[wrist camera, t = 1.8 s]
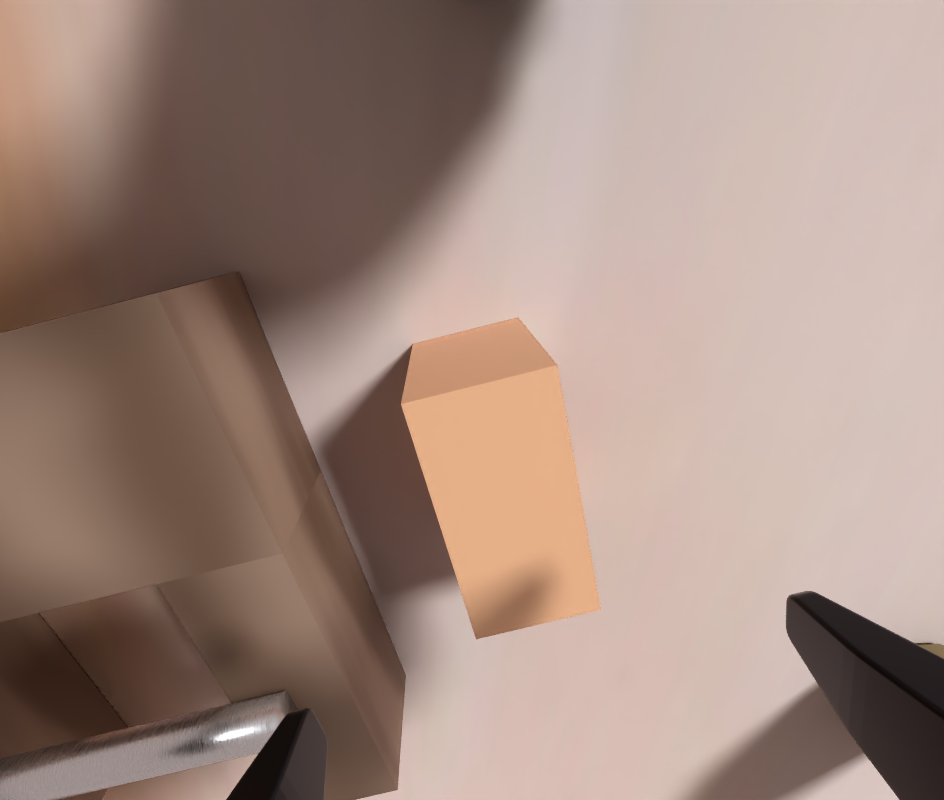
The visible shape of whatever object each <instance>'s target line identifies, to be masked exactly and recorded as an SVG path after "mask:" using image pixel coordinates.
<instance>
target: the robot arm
mask: <svg viewBox="0 0 944 800" xmlns="http://www.w3.org/2000/svg"><path fill="white" fill-rule="evenodd" d="M786 630H787V633H788V636H789V638H790V640H791V642H792V644H793V645H794V647H795V648H796V650H797V651H798V653H799V655H800V656H801V658H802V659H803V661H804V663H805V664H806V666H807V667H808V669H809V671H810V672H811V674H812V675H813V677H814V678H815V680H816V682H817V683H818V685H819V686H820V688H821V690H822V691H823V693H824V694H825V696H826V698H827V699H828V701H829V702H830V704H831V705H832V707H833V709H834V710H835V712H836V713H837V715H838V717H839V718H840V720H841V721H842V723H843V724H844V726H845V727H846V729H847V730H848V732H849V733H850V734H851V736H852V737H853V738H854V740H855V741H856V743H857V744H858V745H859V747H860V748H861V749H862V751H863V752H864V753H865V755H866V756H867V757H868V759H869V760H870V761H871V763H872V764H873V765H874V767H875V768H876V769H877V770H878V772H879V773H880V774H881V776H882V777H883V778H884V780H885V781H886V782H887V784H888V785H889V786H890V788H891V789H892V790H893V792H894V793H895V794H896V796H897V797H898V798H899V800H944V658H942V657H940V656H938V655H936V654H934V653H932V652H930V651H929V650H927V649H925V648H923V647H921V646H919V645H917V644H915V643H913V642H911V641H909V640H907V639H905V638H903V637H901V636H899V635H897V634H895V633H894V632H892V631H890V630H888V629H886V628H884V627H882V626H880V625H878V624H876V623H874V622H872V621H870V620H868V619H866V618H864V617H862V616H861V615H859V614H857V613H855V612H853V611H851V610H849V609H847V608H845V607H843V606H841V605H839V604H837V603H835V602H833V601H831V600H829V599H827V598H826V597H824V596H822V595H820V594H818V593H815V592H812V591H805V592H801V593H796V594H792V595H790V596H789V597H788V598H787V604H786ZM327 749H328V745H327V737H326V734H325V732H324V730H323V728H322V726H321V725H320V723H319V721H318V719H317V717H316V715H315V714H314V712H313V710H312V709H310V708H304V709H299V710H295V711H291V712H289V713H288V714H287V715H286V716H285V717H284V718H283V719H282V721H281V722H280V724H279V725H278V727H277V728H276V729H275V731H274V732H273V734H272V735H271V737H270V738H269V739H268V741H267V742H266V744H265V745H264V747H263V748H262V749H261V751H260V752H259V754H258V755H257V757H256V758H255V759H254V761H253V762H252V764H251V765H250V767H249V768H248V769H247V771H246V772H245V774H244V775H243V776H242V778H241V779H240V781H239V782H238V784H237V785H236V786H235V788H234V789H233V791H232V792H231V794H230V795H229V796H228V798H227V799H226V800H324V791H325V777H326V763H327Z"/></svg>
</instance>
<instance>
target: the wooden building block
mask: <svg viewBox="0 0 944 800" xmlns="http://www.w3.org/2000/svg"><path fill="white" fill-rule="evenodd" d="M401 406H402V409H403V412H404V415H405V418H406V422H407V425H408V428H409V431H410V434H411V437H412V440H413V443H414V447H415V450H416V453H417V456H418V459H419V462H420V465H421V468H422V472H423V475H424V478H425V481H426V484H427V487H428V490H429V493H430V496H431V500H432V503H433V506H434V509H435V512H436V515H437V518H438V521H439V525H440V528H441V531H442V534H443V537H444V540H445V543H446V546H447V550H448V553H449V556H450V559H451V562H452V565H453V568H454V571H455V575H456V578H457V581H458V584H459V587H460V590H461V593H462V596H463V599H464V603H465V606H466V609H467V612H468V615H469V618H470V621H471V624H472V628H473V631H474V634H475V637H476V639H479V638H483V637H488V636H492V635H496V634H500V633H505V632H509V631H513V630H517V629H521V628H526V627H530V626H534V625H538V624H543V623H547V622H551V621H555V620H560V619H564V618H568V617H572V616H576V615H581V614H585V613H589V612H593V611H598V610H601V607H600V602H599V596H598V591H597V585H596V579H595V574H594V568H593V562H592V557H591V551H590V546H589V540H588V534H587V529H586V523H585V518H584V512H583V506H582V501H581V495H580V489H579V484H578V478H577V473H576V467H575V461H574V456H573V450H572V445H571V439H570V433H569V428H568V422H567V416H566V411H565V405H564V400H563V394H562V388H561V383H560V377H559V372H558V366H557V364H556V363H555V362H554V360H553V359H552V358H551V357H550V356H549V354H548V353H547V352H546V351H545V349H544V348H543V347H542V346H541V345H540V343H539V342H538V341H537V340H536V338H535V337H534V336H533V335H532V334H531V332H530V331H529V330H528V329H527V327H526V326H525V325H524V324H523V322H522V321H521V320H520V319H519V318H514V319H511V320H507V321H503V322H499V323H495V324H491V325H487V326H483V327H479V328H475V329H471V330H467V331H463V332H459V333H455V334H451V335H447V336H443V337H439V338H435V339H431V340H427V341H423V342H419V343H415V344H413V346H412V351H411V356H410V361H409V366H408V371H407V376H406V381H405V386H404V391H403V396H402V401H401Z"/></svg>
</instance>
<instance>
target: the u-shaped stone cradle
mask: <svg viewBox="0 0 944 800" xmlns="http://www.w3.org/2000/svg"><path fill="white" fill-rule="evenodd" d="M155 584H157V586H158V588H159V589H160V591H161V592H162V594H163V595H164V597H165V599H166V600H167V602H168V603H169V605H170V607H171V608H172V610H173V611H174V613H175V614H176V616H177V618H178V619H179V621H180V622H181V624H182V625H183V627H184V629H185V630H186V632H187V633H188V635H189V637H190V638H191V640H192V641H193V643H194V644H195V646H196V648H197V649H198V651H199V652H200V654H201V656H202V657H203V659H204V660H205V662H206V663H207V665H208V667H209V668H210V670H211V671H212V673H213V674H214V676H215V678H216V679H217V681H218V682H219V684H220V686H221V687H222V689H223V690H224V692H225V693H226V695H227V697H228V698H229V700H230V701H231V703H236V702H240V701H244V700H249V699H253V698H257V697H261V696H265V695H270V694H274V693H278V692H282V691H288V693H289V695H290V696H291V698H292V700H293V702H294V704H295V705H296V707H297V709H298V710H299V709H304V708H310V709H312V710H313V712H314V714H315V715H316V717H317V719H318V721H319V723H320V725H321V726H322V728H323V730H324V732H325V734H326V737H327V745H328V749H327V763H326V777H325V791H324V800H356V799H360V798H364V797H369V796H373V795H377V794H382V793H386V792H390V791H395V790H398V777H399V762H400V748H401V734H402V720H403V706H404V691H405V677H406V675H405V673H404V670H403V668H402V665H401V663H400V661H399V658H398V656H397V653H396V651H395V649H394V646H393V644H392V641H391V639H390V636H389V634H388V632H387V629H386V627H385V624H384V622H383V620H382V617H381V615H380V612H379V610H378V607H377V605H376V603H375V600H374V598H373V595H372V593H371V591H370V588H369V586H368V583H367V581H366V579H365V576H364V574H363V571H362V569H361V566H360V564H359V562H358V559H357V557H356V554H355V552H354V550H353V547H352V545H351V542H350V540H349V537H348V535H347V533H346V530H345V528H344V525H343V523H342V521H341V518H340V516H339V513H338V511H337V508H336V506H335V504H334V501H333V499H332V496H331V494H330V492H329V489H328V487H327V484H326V482H325V480H324V477H323V475H322V472H321V470H320V467H319V465H318V463H317V460H316V458H315V455H314V453H313V451H312V448H311V446H310V443H309V441H308V438H307V436H306V434H305V431H304V429H303V426H302V424H301V422H300V419H299V417H298V414H297V412H296V409H295V407H294V405H293V402H292V400H291V397H290V395H289V393H288V390H287V388H286V385H285V383H284V381H283V378H282V376H281V373H280V371H279V368H278V366H277V364H276V361H275V359H274V356H273V354H272V352H271V349H270V347H269V344H268V342H267V339H266V337H265V335H264V332H263V330H262V327H261V325H260V323H259V320H258V318H257V315H256V313H255V310H254V308H253V306H252V303H251V301H250V298H249V296H248V294H247V291H246V289H245V286H244V284H243V281H242V279H241V277H240V274H239V272H235V273H231V274H227V275H223V276H220V277H216V278H212V279H208V280H204V281H200V282H196V283H192V284H188V285H185V286H181V287H177V288H173V289H169V290H165V291H161V292H157V293H154V294H150V295H146V296H142V297H138V298H134V299H130V300H126V301H122V302H119V303H115V304H111V305H107V306H103V307H99V308H95V309H91V310H87V311H84V312H80V313H76V314H72V315H68V316H64V317H60V318H56V319H53V320H49V321H45V322H41V323H37V324H33V325H29V326H25V327H21V328H18V329H14V330H10V331H6V332H2V333H0V758H3V757H7V756H11V755H15V754H20V753H24V752H28V751H32V750H37V749H41V748H45V747H49V746H54V745H58V744H62V743H66V742H71V741H75V740H79V739H83V738H88V737H92V736H96V735H100V734H104V733H109V732H113V731H117V730H121V729H126V728H128V727H127V726H126V725H125V724H124V722H123V721H122V720H121V718H120V717H119V716H118V715H117V713H116V712H115V711H114V709H113V708H112V707H111V706H110V704H109V703H108V702H107V700H106V699H105V698H104V697H103V695H102V694H101V693H100V691H99V690H98V689H97V688H96V686H95V685H94V684H93V682H92V681H91V680H90V679H89V677H88V676H87V675H86V673H85V672H84V671H83V670H82V668H81V667H80V666H79V664H78V663H77V662H76V661H75V659H74V658H73V657H72V655H71V654H70V653H69V652H68V650H67V649H66V648H65V646H64V645H63V644H62V643H61V641H60V640H59V639H58V637H57V636H56V635H55V634H54V632H53V631H52V630H51V628H50V627H49V626H48V625H47V623H46V622H45V621H44V619H43V618H42V617H41V616H40V614H39V613H40V612H44V611H48V610H52V609H56V608H61V607H65V606H69V605H73V604H77V603H81V602H85V601H89V600H93V599H98V598H102V597H106V596H110V595H114V594H118V593H122V592H126V591H131V590H135V589H139V588H143V587H147V586H151V585H155ZM107 789H108V788H106V789H102V790H97V791H93V792H89V793H85V794H80V795H76V796H72V797H67V798H63V799H59V800H101V799H102V797H103V795H104V794H105V792H106V790H107Z"/></svg>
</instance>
